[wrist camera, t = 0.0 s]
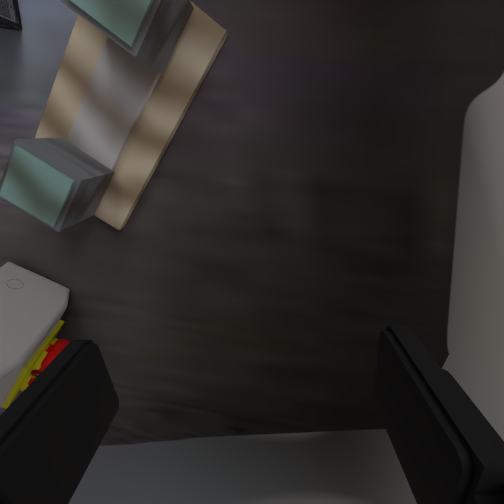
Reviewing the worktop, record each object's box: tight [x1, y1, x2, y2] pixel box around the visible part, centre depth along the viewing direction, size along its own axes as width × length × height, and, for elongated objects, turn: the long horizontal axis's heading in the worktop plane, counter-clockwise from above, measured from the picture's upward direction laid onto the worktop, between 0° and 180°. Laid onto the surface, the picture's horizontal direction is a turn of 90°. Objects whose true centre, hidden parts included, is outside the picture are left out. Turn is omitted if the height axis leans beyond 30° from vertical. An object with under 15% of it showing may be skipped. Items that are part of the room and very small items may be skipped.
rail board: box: [0, 0, 228, 232], centre depth 30 cm, size 28×14×10 cm, turn 145°
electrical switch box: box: [0, 262, 71, 409], centre depth 39 cm, size 15×15×20 cm
